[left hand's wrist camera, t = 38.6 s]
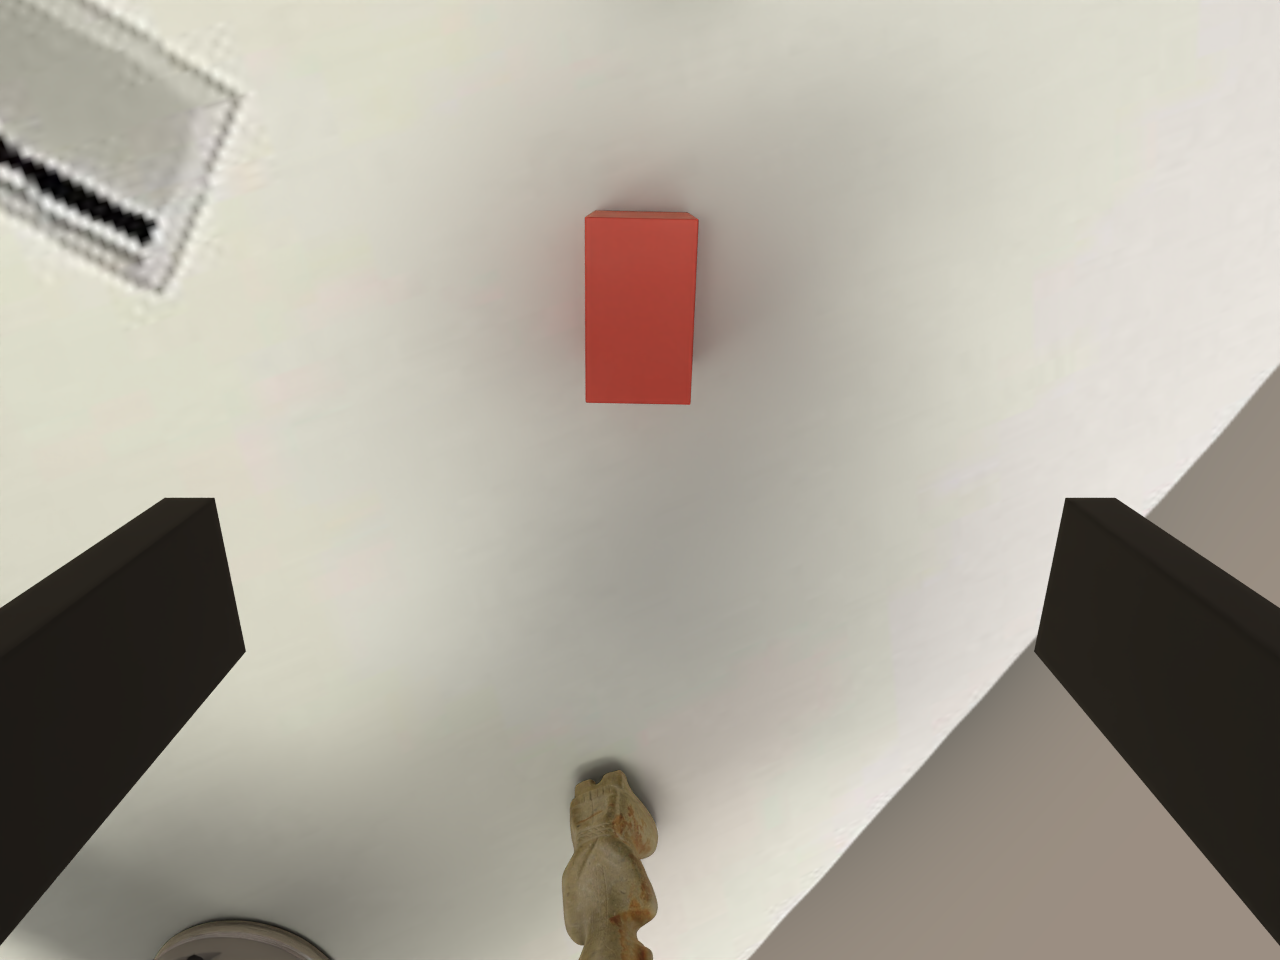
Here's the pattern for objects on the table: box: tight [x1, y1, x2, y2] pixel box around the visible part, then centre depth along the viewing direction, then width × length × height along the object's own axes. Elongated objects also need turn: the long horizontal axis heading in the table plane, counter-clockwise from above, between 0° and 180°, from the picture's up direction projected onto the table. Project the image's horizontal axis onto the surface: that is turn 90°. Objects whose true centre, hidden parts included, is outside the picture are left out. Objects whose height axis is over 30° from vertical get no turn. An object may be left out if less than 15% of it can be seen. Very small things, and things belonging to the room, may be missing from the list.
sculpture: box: [562, 770, 658, 960], centre depth 49 cm, size 6×7×15 cm
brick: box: [585, 211, 698, 405], centre depth 40 cm, size 8×5×8 cm, turn 179°
